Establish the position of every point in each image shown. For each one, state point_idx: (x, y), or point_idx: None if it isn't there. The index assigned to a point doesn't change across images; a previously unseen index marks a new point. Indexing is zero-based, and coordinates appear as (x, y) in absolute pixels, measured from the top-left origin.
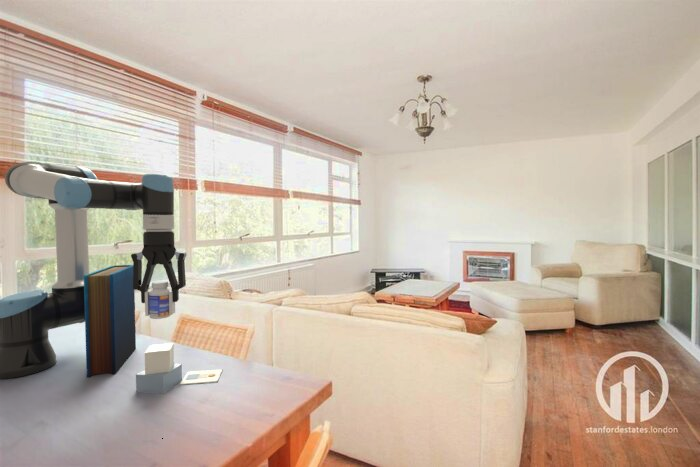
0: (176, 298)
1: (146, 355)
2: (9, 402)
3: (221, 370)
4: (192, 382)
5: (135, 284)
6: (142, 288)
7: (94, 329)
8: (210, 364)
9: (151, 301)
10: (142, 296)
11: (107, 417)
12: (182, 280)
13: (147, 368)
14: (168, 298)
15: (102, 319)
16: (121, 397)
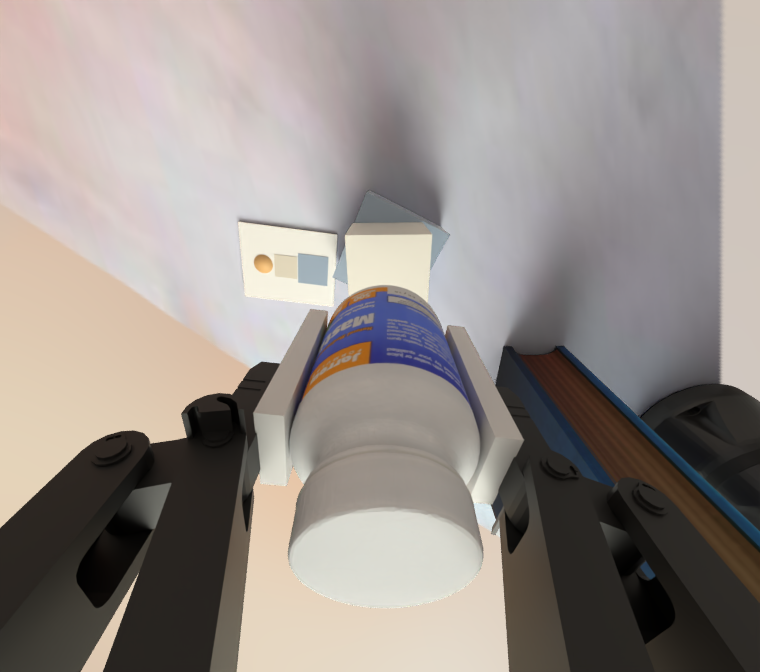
0: (249, 377)
1: (425, 232)
2: (713, 258)
3: (245, 288)
4: (304, 233)
5: (680, 541)
6: (565, 481)
7: (624, 438)
8: (287, 339)
9: (439, 351)
10: (525, 424)
11: (488, 76)
12: (2, 530)
13: (417, 224)
14: (310, 378)
15: (622, 468)
16: (471, 202)
